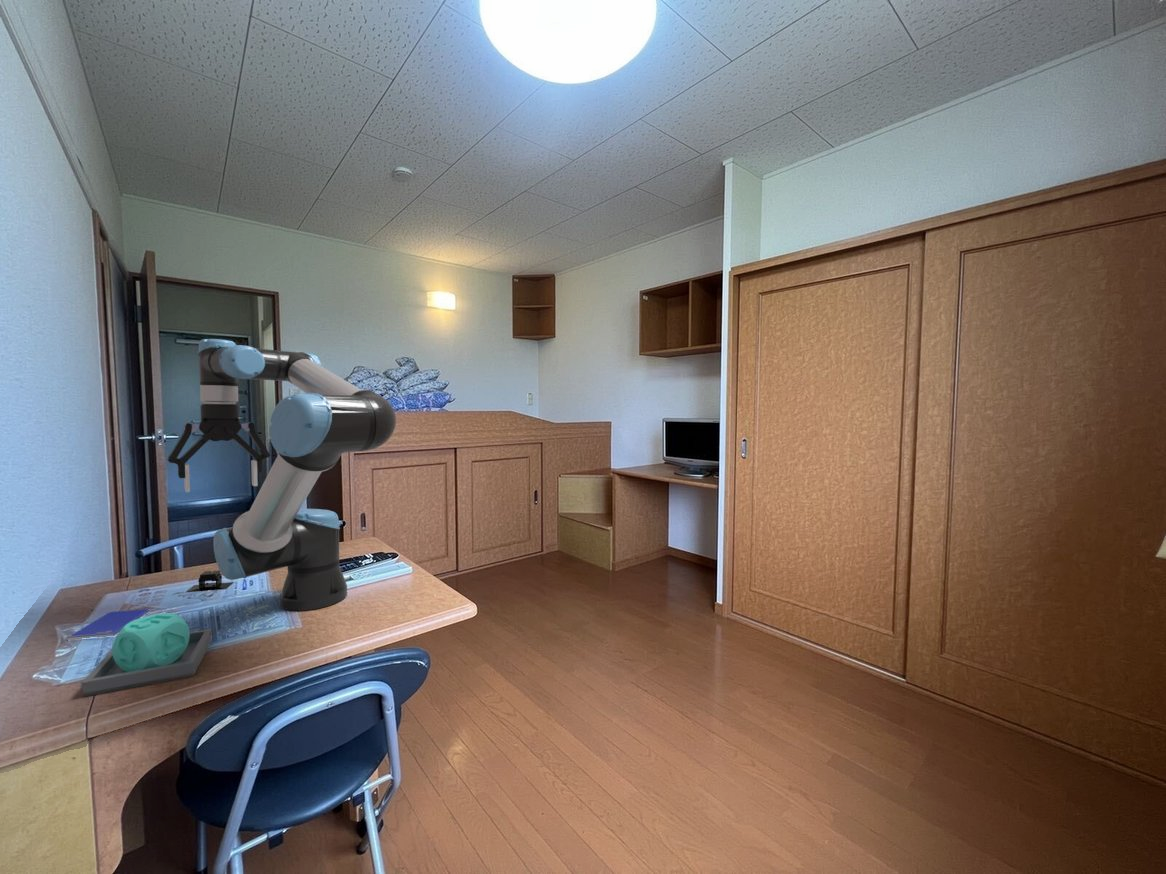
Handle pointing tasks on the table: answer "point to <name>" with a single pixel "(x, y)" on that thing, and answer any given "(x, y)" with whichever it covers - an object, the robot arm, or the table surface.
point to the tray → (115, 678)
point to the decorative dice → (150, 642)
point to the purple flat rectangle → (108, 624)
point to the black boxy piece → (210, 586)
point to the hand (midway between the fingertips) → (222, 488)
